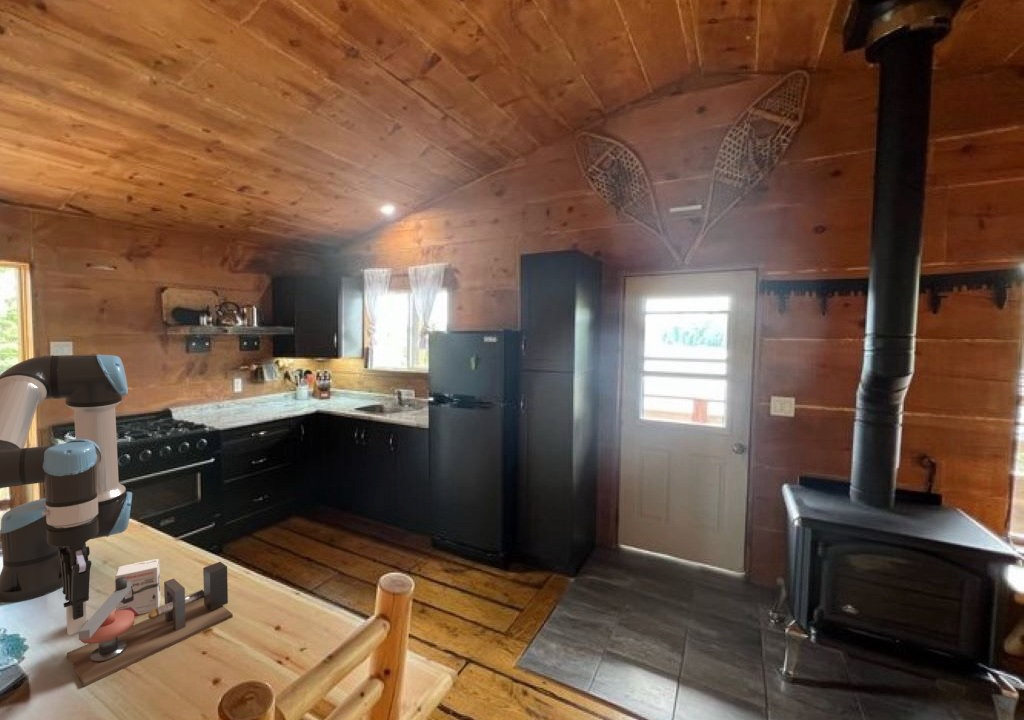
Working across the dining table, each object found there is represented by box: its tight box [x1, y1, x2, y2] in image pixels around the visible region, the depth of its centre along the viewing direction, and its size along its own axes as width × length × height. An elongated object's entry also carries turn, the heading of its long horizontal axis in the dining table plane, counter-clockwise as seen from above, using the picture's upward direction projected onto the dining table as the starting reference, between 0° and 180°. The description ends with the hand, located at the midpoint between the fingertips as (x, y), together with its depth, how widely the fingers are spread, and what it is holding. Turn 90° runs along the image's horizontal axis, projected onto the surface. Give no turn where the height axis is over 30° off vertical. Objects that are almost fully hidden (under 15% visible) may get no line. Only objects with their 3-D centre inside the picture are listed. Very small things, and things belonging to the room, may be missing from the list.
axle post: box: [90, 637, 127, 663], centre depth 101 cm, size 6×6×5 cm
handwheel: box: [77, 577, 135, 645], centre depth 100 cm, size 9×18×8 cm, turn 19°
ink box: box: [114, 558, 161, 617], centre depth 116 cm, size 8×5×12 cm, turn 123°
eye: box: [163, 578, 186, 631], centre depth 111 cm, size 7×2×10 cm, turn 55°
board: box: [66, 598, 234, 687], centre depth 108 cm, size 14×28×1 cm, turn 145°
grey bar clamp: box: [147, 561, 229, 619], centre depth 113 cm, size 4×16×10 cm, turn 145°
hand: (77, 630), depth 93 cm, fingers closed
